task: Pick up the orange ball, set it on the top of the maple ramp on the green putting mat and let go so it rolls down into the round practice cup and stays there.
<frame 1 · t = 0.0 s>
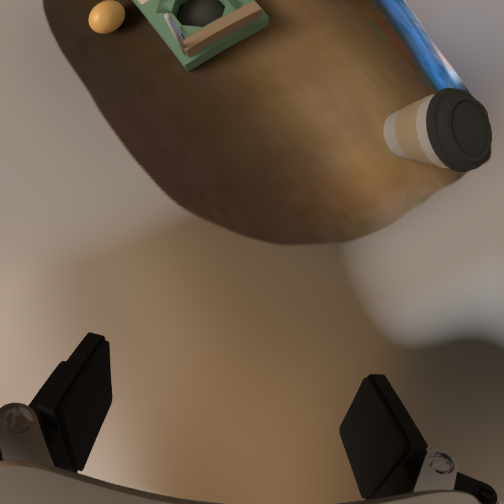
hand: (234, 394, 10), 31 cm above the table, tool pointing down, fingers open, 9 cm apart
ball: (106, 16, 29), point 2 cm above the table
coffee cup: (403, 134, 38), on the table
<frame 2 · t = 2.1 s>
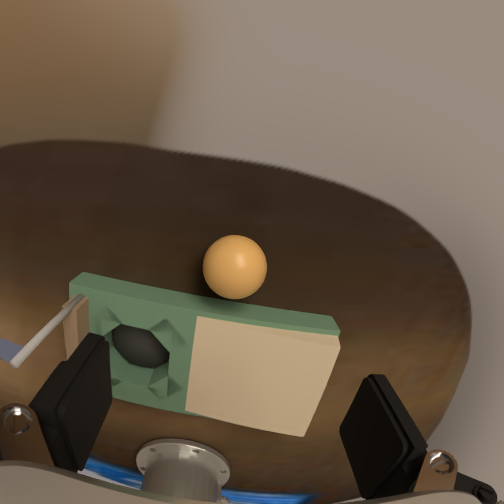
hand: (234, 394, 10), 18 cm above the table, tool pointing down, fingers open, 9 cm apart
ball: (234, 267, 25), point 2 cm above the table
putting mat: (196, 351, 30), on the table
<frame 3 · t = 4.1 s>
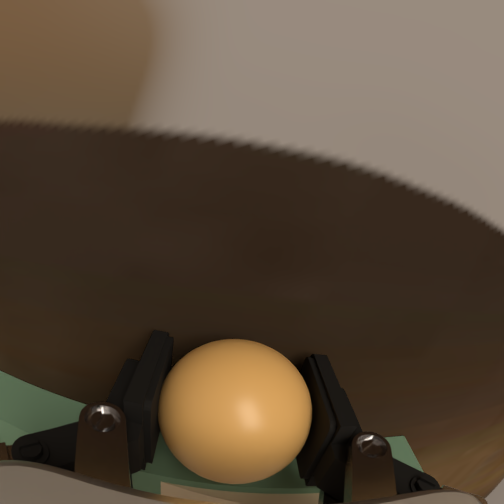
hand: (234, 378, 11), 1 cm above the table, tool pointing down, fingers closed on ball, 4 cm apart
ball: (234, 412, 9), point 2 cm above the table, touching gripper
putting mat: (173, 487, 14), on the table
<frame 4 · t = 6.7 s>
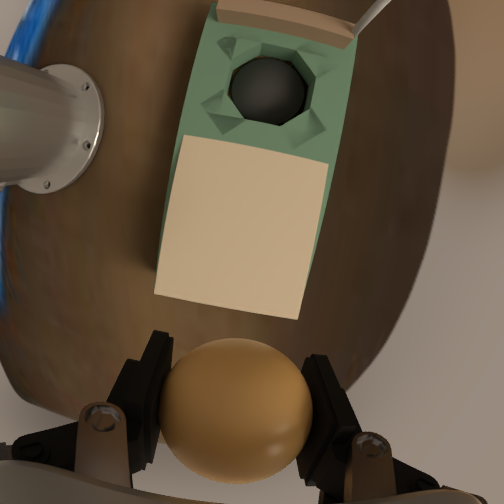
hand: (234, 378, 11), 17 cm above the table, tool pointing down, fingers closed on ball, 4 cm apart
ball: (235, 412, 9), point 19 cm above the table, touching gripper
putting mat: (254, 153, 25), on the table
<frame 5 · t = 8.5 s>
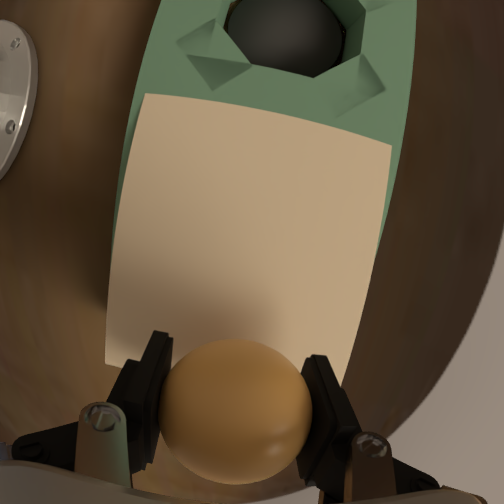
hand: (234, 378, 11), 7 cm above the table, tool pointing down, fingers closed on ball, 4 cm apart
ball: (234, 412, 9), point 9 cm above the table, touching gripper
putting mat: (265, 126, 15), on the table
when the fingers open (6 cm above the table, at t = 9.3 s): ball drops 5 cm, resting on putting mat.
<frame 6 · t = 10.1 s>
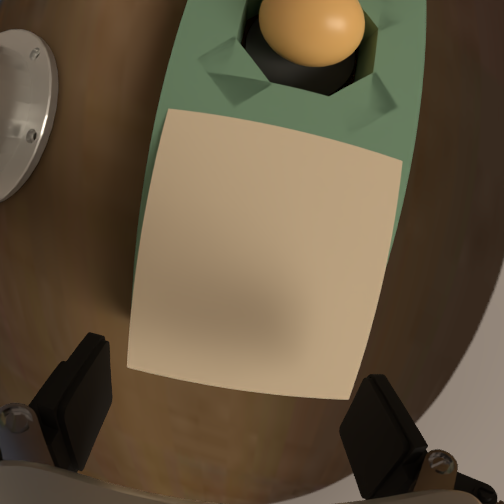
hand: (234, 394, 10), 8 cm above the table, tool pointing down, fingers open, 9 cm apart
ball: (312, 19, 12), point 3 cm above the table, tilted 14°, touching putting mat
putting mat: (282, 141, 16), on the table
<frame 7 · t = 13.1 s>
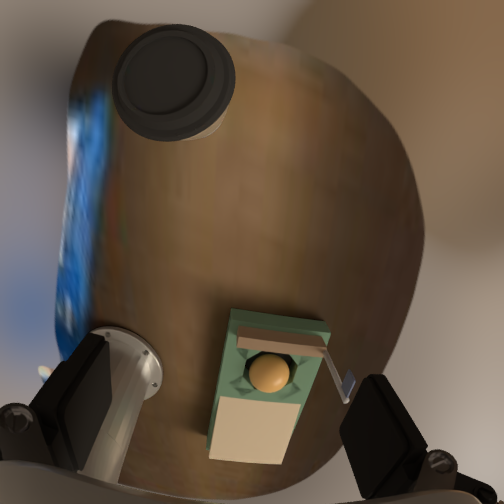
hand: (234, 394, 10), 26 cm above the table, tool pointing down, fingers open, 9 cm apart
ball: (269, 373, 38), point 3 cm above the table, tilted 9°, touching putting mat
putting mat: (259, 388, 42), on the table
coffee cup: (194, 109, 32), on the table
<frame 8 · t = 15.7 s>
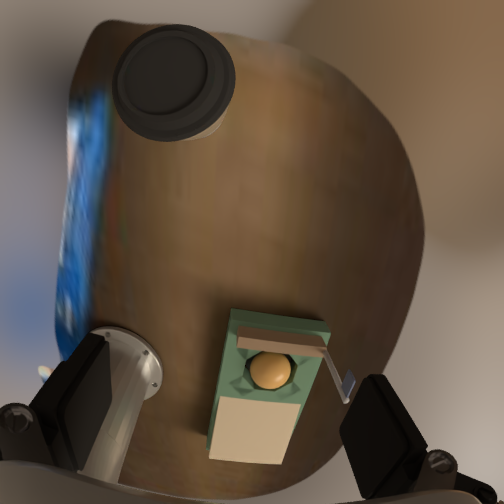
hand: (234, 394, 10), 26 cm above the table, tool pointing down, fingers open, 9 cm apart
ball: (270, 369, 37), point 3 cm above the table, tilted 5°, touching putting mat
putting mat: (259, 388, 42), on the table
coffee cup: (194, 109, 32), on the table
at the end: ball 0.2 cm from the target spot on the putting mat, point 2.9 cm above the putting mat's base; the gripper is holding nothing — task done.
